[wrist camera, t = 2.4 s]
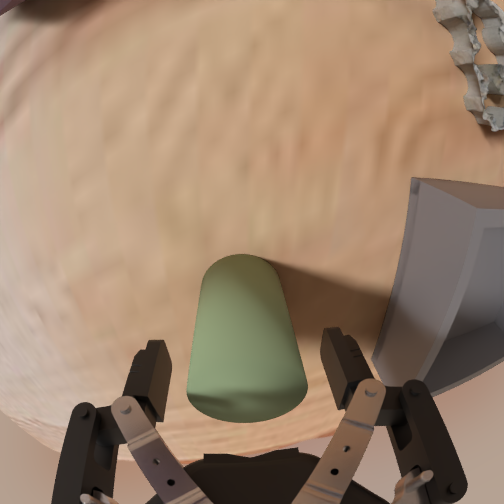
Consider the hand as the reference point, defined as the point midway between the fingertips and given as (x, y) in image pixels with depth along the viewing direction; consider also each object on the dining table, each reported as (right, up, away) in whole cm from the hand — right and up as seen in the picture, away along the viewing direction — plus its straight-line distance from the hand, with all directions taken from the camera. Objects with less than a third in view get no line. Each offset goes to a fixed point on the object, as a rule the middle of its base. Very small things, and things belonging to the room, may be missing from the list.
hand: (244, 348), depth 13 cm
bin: (+20, +3, +5) cm, 21 cm away
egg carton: (+17, +19, -2) cm, 26 cm away
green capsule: (0, +2, +4) cm, 5 cm away
